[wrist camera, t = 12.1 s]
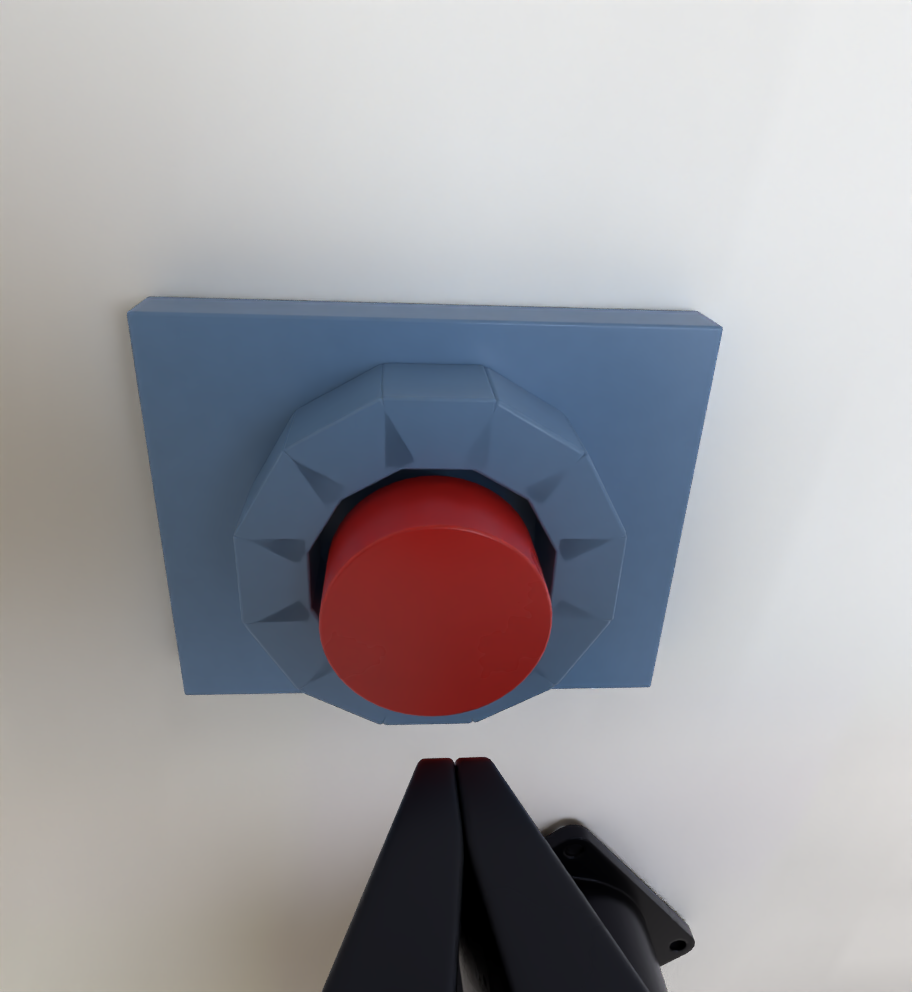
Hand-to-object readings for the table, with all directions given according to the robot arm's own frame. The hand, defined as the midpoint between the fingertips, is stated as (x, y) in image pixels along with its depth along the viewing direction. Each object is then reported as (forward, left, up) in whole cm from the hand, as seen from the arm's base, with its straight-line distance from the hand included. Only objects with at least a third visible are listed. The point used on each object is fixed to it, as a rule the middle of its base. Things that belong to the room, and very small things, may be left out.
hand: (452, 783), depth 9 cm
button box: (0, 0, -7) cm, 7 cm away
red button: (0, 0, -5) cm, 5 cm away
